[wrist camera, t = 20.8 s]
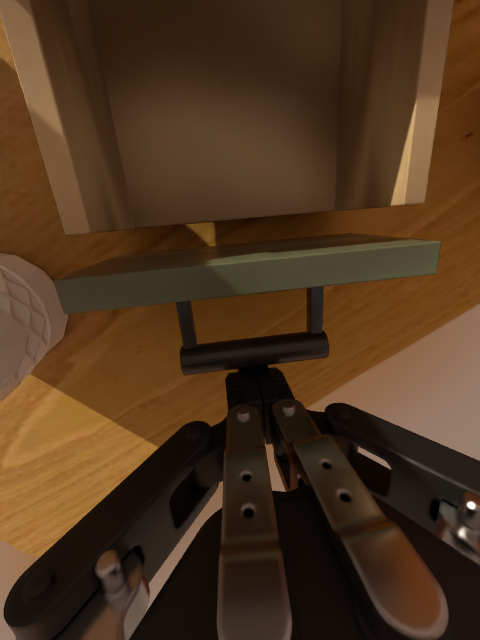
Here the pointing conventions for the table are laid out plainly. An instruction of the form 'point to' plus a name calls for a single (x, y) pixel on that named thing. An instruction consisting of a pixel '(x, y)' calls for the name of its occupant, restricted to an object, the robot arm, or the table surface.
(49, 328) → the white cup
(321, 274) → the drawer
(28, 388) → the table surface
